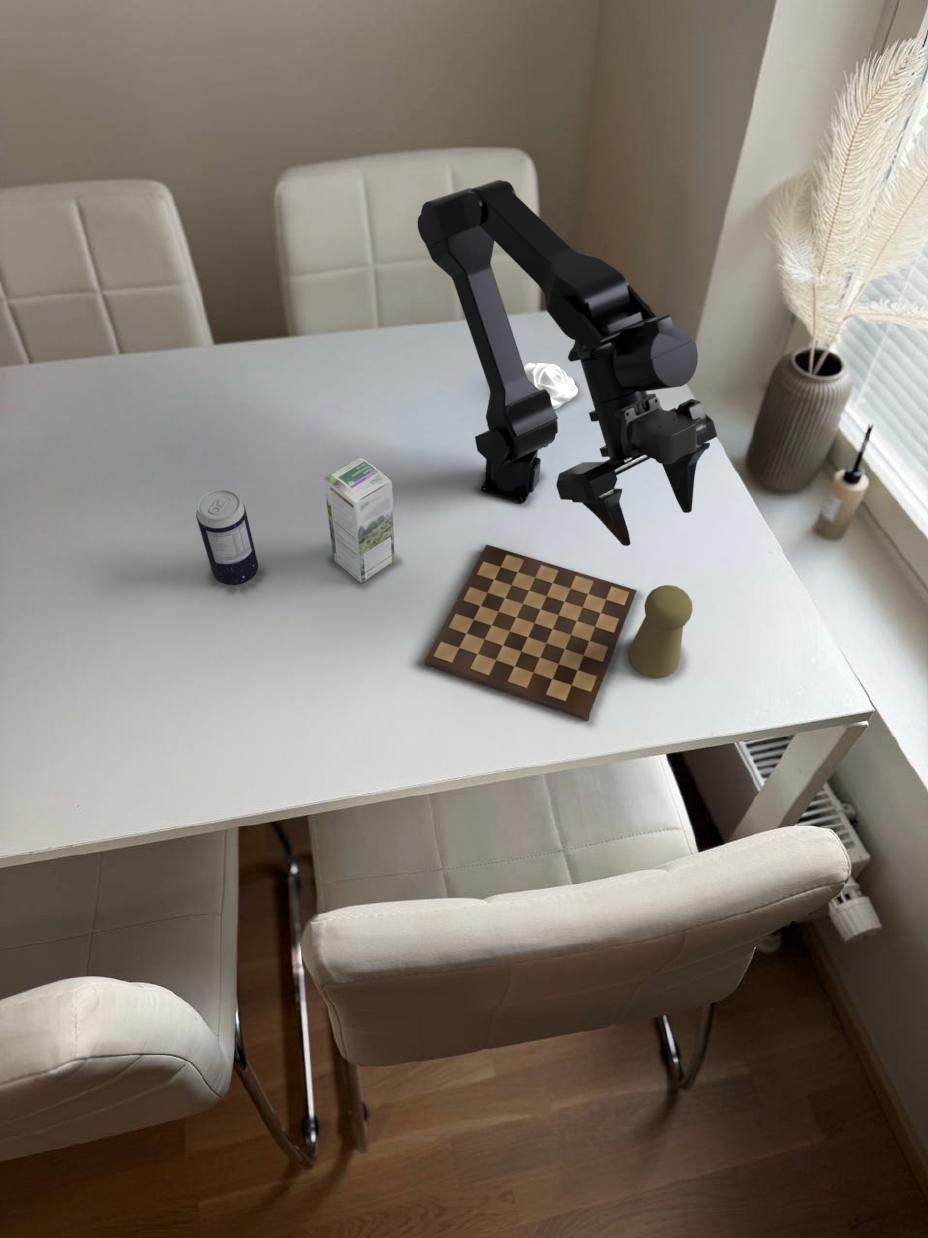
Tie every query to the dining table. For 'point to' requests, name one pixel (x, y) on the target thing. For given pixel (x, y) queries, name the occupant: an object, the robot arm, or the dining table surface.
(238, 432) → the dining table surface
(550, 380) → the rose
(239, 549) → the beverage can
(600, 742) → the dining table surface
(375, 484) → the syrup box
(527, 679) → the chessboard
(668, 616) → the chess pawn
